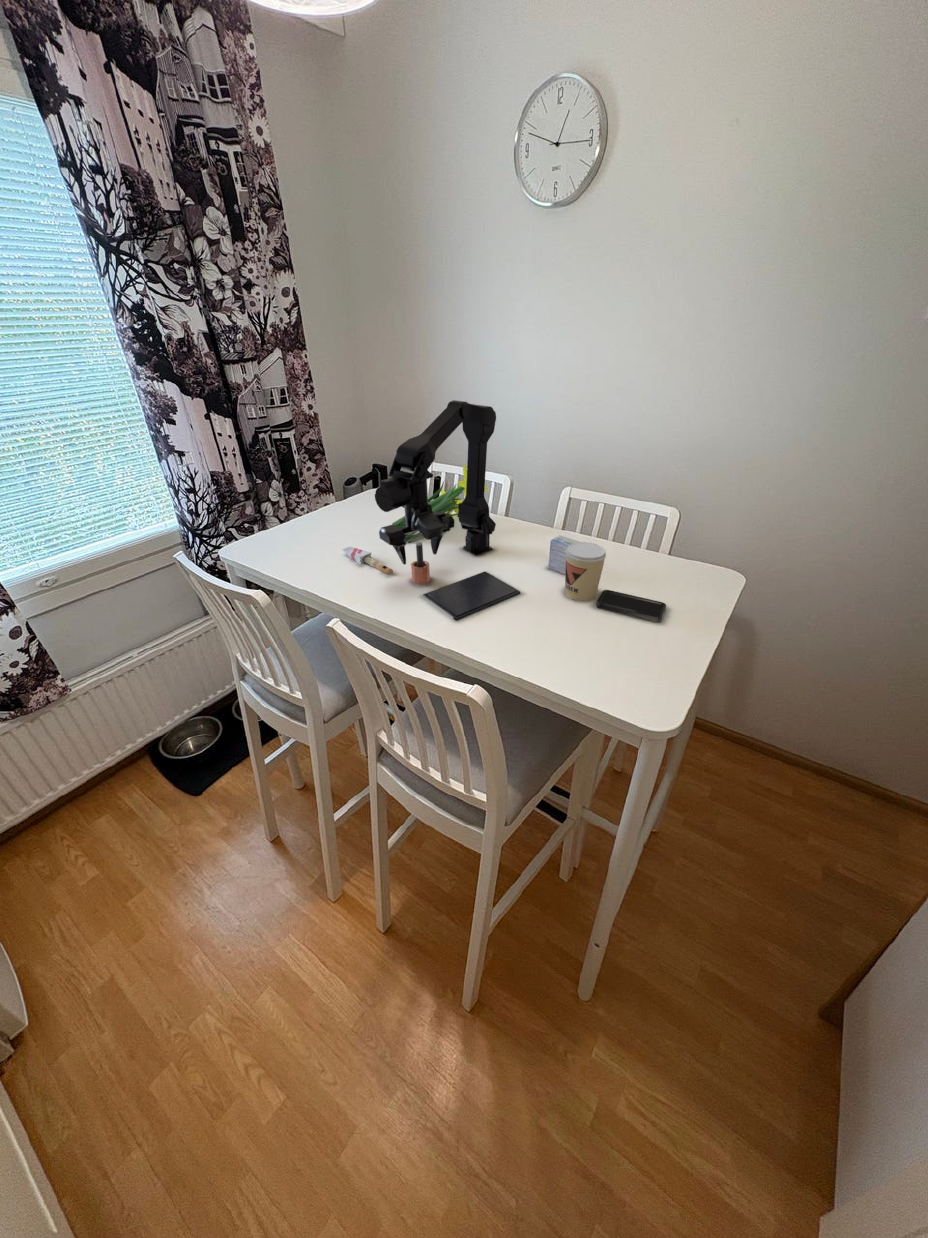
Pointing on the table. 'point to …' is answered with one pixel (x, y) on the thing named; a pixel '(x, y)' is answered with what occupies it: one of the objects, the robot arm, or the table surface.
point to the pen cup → (420, 573)
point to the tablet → (471, 595)
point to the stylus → (419, 554)
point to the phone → (631, 605)
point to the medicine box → (559, 553)
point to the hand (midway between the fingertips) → (419, 558)
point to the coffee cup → (583, 570)
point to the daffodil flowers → (443, 501)
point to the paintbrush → (366, 559)
